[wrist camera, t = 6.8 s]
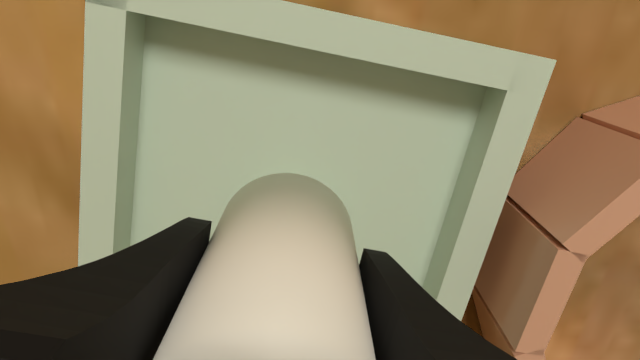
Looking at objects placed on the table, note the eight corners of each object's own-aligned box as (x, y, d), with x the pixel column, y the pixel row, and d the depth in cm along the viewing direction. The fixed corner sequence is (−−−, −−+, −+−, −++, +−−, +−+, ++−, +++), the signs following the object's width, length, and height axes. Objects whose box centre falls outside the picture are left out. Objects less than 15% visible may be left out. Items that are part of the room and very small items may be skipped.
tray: (523, 54, 14) (556, 60, 12) (409, 387, 18) (421, 431, 16) (120, -33, 13) (86, -43, 11) (101, 340, 17) (75, 380, 15)
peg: (365, 186, 13) (417, 354, 7) (337, 301, 14) (355, 538, 8) (229, 161, 13) (138, 309, 6) (212, 280, 14) (123, 508, 8)
